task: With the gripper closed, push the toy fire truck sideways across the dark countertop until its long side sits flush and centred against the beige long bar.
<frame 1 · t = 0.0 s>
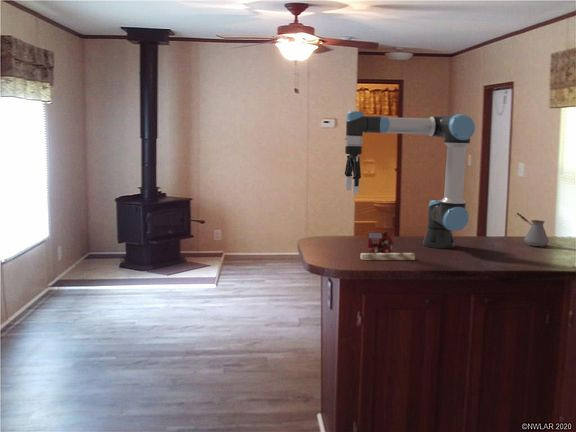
hand: (351, 192, 274), 28 cm above the table, fingers open, 13 cm apart
coffee pot: (528, 244, 309), on the table
beige long bar: (387, 259, 263), on the table
toy fire truck: (379, 254, 275), on the table
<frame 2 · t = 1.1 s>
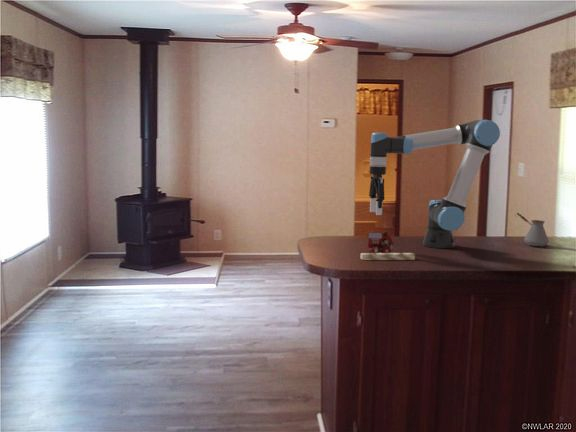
hand: (375, 213, 281), 18 cm above the table, fingers open, 9 cm apart
nothing on the table moved.
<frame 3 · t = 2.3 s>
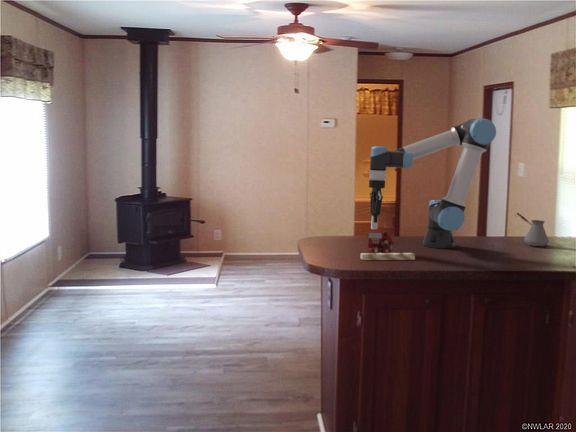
hand: (374, 228, 283), 10 cm above the table, fingers closed
nothing on the table moved.
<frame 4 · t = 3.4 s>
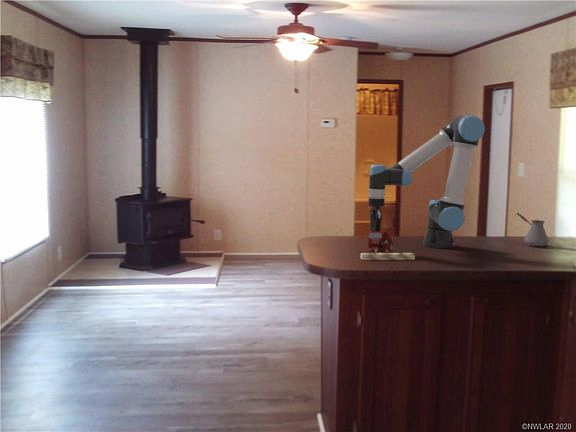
hand: (374, 246, 284), 1 cm above the table, fingers closed
nothing on the table moved.
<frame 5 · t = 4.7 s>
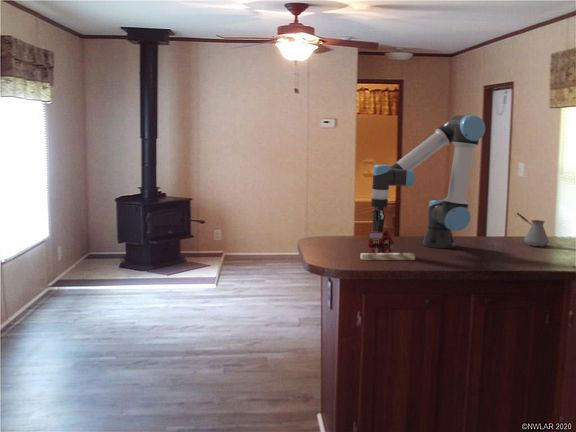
hand: (376, 248, 278), 2 cm above the table, fingers closed
toy fire truck: (379, 253, 275), on the table, touching gripper, hand
everything else where it was.
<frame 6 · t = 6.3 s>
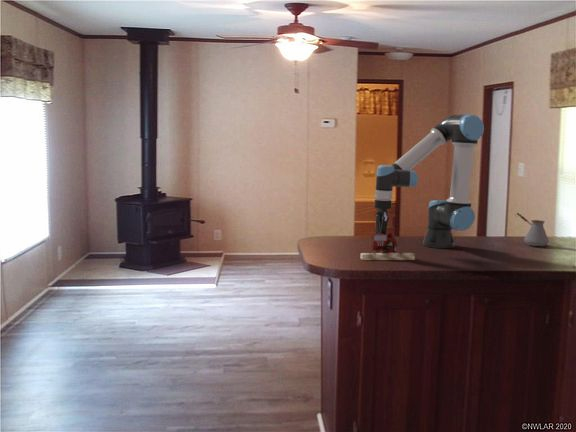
hand: (379, 250, 273), 2 cm above the table, fingers closed
toy fire truck: (383, 255, 269), on the table, touching gripper, hand
everything else where it was.
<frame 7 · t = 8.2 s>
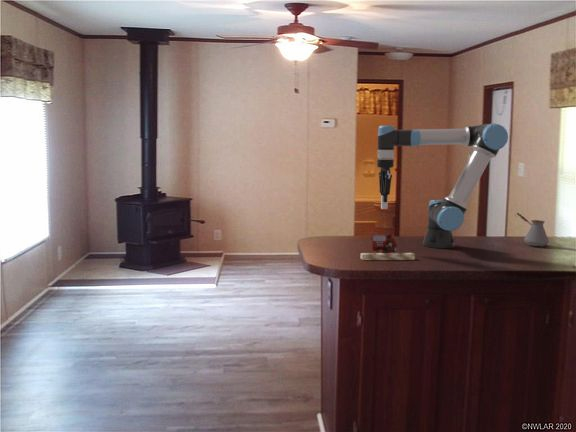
hand: (384, 208, 282), 20 cm above the table, fingers closed
toy fire truck: (383, 257, 269), on the table
everything else where it was.
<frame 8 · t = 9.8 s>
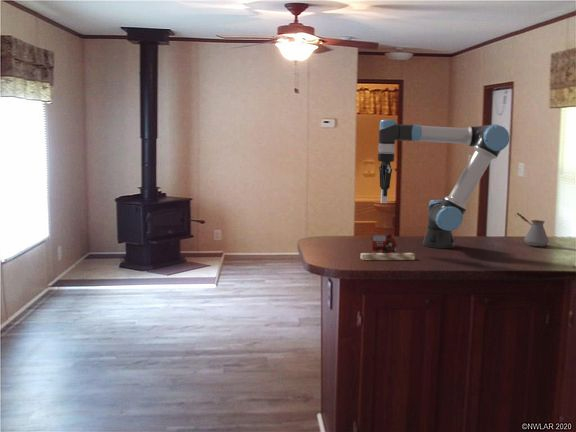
hand: (383, 202, 282), 22 cm above the table, fingers closed
nothing on the table moved.
at the end: toy fire truck 0.5 cm from the target spot on the table beside the beige long bar, on the table; toy fire truck tilted 0° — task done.
